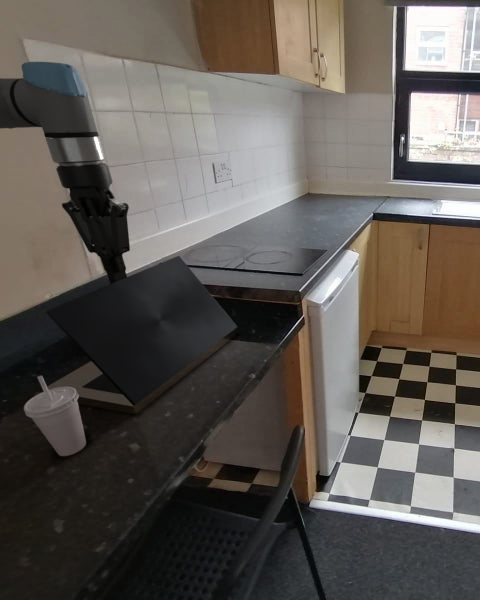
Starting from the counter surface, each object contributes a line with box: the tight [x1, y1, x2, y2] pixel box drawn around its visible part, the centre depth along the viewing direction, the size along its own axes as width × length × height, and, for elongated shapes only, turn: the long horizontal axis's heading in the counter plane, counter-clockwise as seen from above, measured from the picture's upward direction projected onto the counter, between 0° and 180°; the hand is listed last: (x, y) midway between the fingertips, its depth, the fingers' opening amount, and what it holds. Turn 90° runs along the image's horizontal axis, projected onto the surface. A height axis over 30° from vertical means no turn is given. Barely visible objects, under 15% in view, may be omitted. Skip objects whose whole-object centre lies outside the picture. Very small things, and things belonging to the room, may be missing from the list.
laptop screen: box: [45, 255, 238, 406], centre depth 82 cm, size 21×30×1 cm
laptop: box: [41, 328, 237, 415], centre depth 87 cm, size 21×30×2 cm
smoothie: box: [23, 375, 87, 457], centre depth 62 cm, size 6×6×14 cm
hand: (120, 286), depth 81 cm, fingers closed
